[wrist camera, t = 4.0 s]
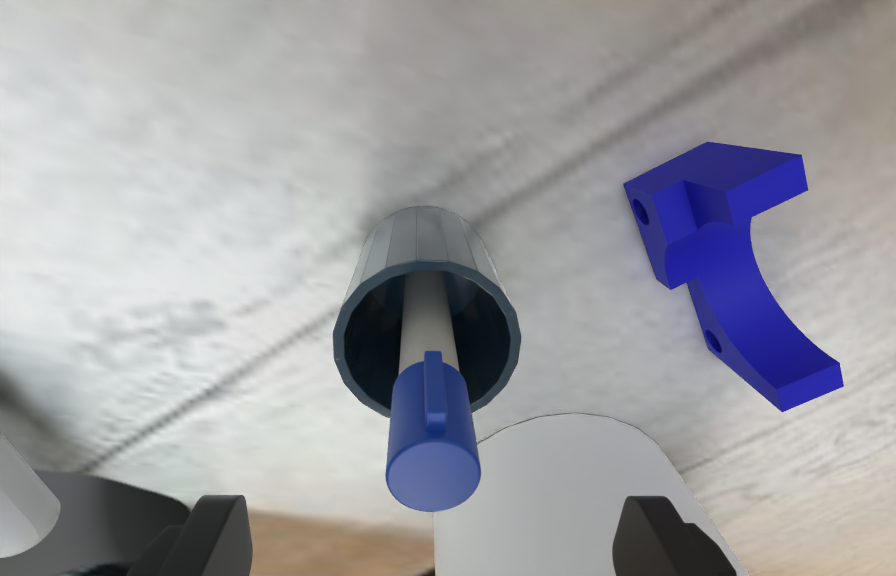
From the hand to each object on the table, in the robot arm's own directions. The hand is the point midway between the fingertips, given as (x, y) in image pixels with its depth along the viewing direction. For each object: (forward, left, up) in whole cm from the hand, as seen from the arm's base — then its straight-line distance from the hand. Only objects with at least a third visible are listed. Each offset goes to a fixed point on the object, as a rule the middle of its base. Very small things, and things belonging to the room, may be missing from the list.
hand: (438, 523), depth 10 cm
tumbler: (0, 0, -16) cm, 16 cm away
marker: (0, 0, -15) cm, 15 cm away
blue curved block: (+15, +1, -16) cm, 22 cm away
